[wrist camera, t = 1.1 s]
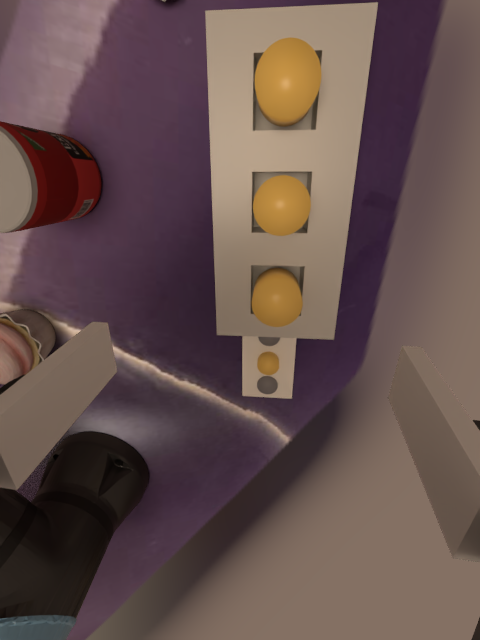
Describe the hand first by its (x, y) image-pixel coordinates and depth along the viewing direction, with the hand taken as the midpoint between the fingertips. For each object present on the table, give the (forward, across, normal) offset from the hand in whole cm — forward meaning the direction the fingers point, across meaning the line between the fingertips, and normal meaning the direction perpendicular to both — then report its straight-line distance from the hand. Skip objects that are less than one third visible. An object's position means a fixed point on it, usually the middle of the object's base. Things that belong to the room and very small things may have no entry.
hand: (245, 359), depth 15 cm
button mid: (+18, -1, -5) cm, 18 cm away
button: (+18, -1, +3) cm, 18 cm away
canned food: (+22, +22, -6) cm, 31 cm away
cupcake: (+20, +30, +12) cm, 38 cm away
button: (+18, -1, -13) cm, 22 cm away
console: (+22, 0, -5) cm, 23 cm away
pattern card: (+22, 0, +14) cm, 26 cm away
